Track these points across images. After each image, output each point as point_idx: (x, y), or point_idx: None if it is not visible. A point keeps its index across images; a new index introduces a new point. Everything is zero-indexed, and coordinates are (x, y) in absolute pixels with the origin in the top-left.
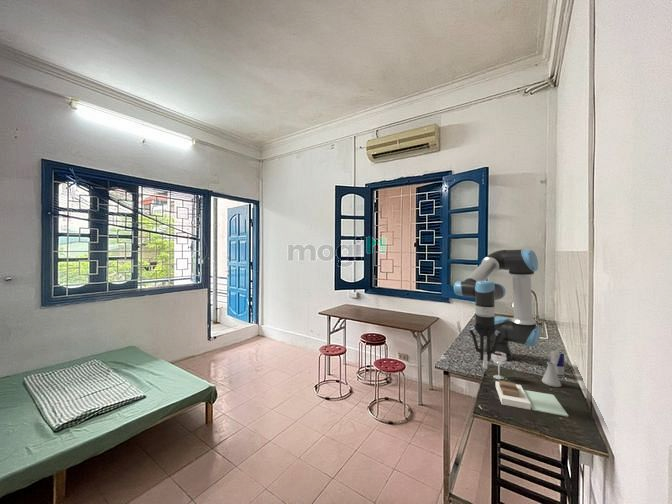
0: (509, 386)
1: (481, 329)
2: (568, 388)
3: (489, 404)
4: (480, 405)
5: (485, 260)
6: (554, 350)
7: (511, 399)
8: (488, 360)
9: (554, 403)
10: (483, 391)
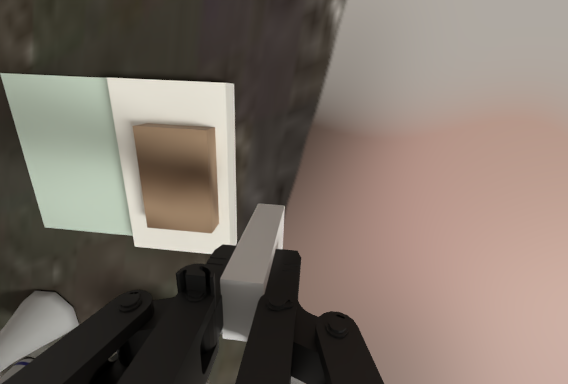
0: (172, 182)
1: None
2: (8, 291)
3: (288, 61)
4: (333, 32)
5: None
6: None
7: (182, 88)
8: (229, 249)
9: (42, 158)
10: (293, 183)
